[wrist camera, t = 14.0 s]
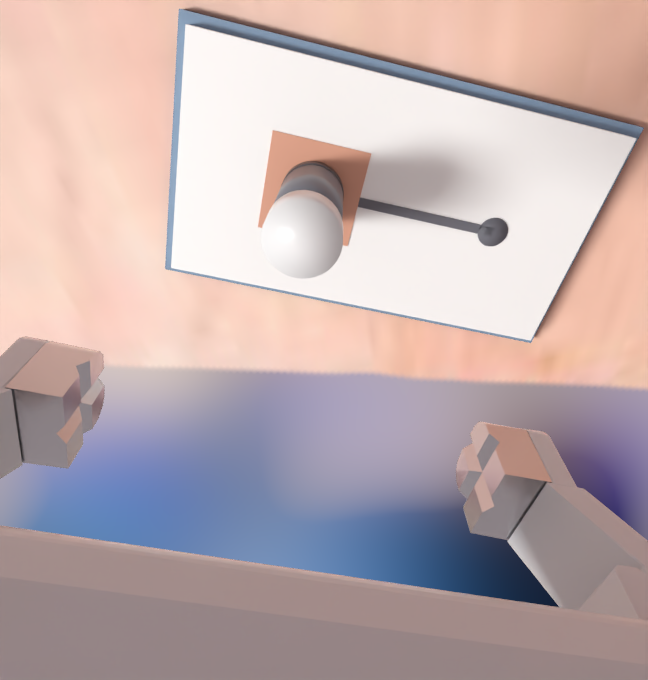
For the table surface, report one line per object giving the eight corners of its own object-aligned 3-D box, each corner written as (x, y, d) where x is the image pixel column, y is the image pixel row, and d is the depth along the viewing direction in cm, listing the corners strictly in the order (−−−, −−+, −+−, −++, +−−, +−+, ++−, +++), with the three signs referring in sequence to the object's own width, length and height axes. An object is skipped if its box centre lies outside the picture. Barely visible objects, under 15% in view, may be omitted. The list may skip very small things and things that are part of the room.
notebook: (637, 125, 25) (652, 130, 24) (527, 337, 32) (535, 349, 31) (182, 9, 23) (174, 8, 22) (168, 264, 30) (161, 274, 28)
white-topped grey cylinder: (351, 169, 25) (352, 211, 19) (335, 230, 27) (331, 286, 21) (288, 152, 25) (268, 190, 19) (275, 215, 26) (254, 267, 20)
